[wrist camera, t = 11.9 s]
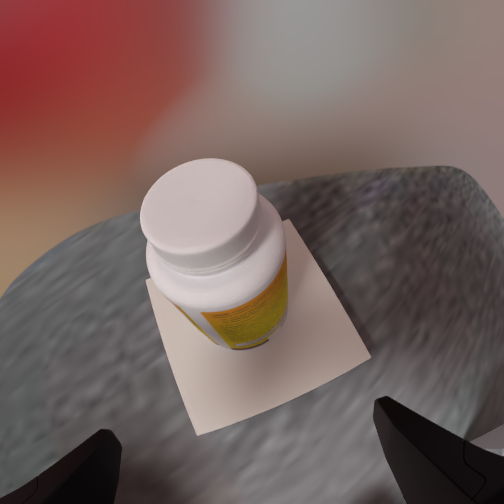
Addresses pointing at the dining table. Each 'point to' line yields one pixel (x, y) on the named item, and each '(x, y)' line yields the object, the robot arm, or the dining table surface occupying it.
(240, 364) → the cream square tile
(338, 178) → the dining table surface
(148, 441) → the dining table surface
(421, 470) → the robot arm
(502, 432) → the pale grey block
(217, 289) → the supplement bottle
